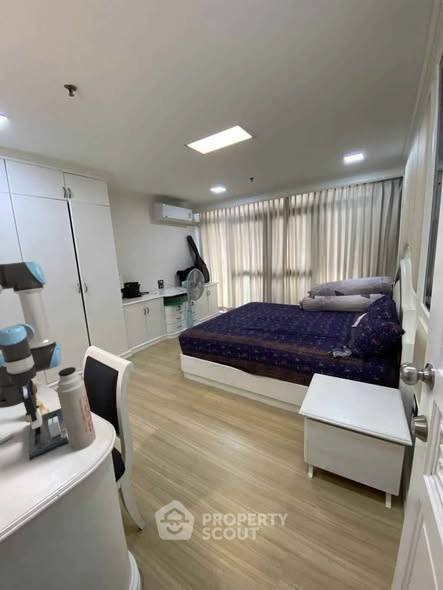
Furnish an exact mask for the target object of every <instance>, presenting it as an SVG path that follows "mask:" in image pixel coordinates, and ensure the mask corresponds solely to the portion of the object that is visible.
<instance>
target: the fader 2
mask: <svg viewBox="0 0 443 590" xmlns="http://www.w3.org/2000/svg"><path fill="white" fill-rule="evenodd" d="M48 426H49V430H50V434H51V438H52V437H57V436H58V435H59V434H61V432H60V426H59V422H58V418H57V416H56V417H54V418H51V419H49V420H48Z"/></svg>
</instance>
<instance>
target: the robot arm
mask: <svg viewBox="0 0 443 590" xmlns="http://www.w3.org/2000/svg"><path fill="white" fill-rule="evenodd" d="M44 273H45V272H44V271H43V268H42V267H41V265H40V264H39V263H38V262H36V261H24V262H22V261H21V262H13V263H3V264H2V263H0V295H1V294H2V292H3V290H10V289H13V293H15V294H16V295H18V297H19V301H20V306H21V309H22V310H21V311H22V314H23V319H24V323H18V324H16V325H11V326H7V327H3V328H1V329H0V351H1V354H0V407H2V408H7V407H13V406H15V405H19V404H22V403H23V405H24V406H23V407H24V409H25V416H28V415H29V419H30V422H29V424H30V423H31V426H32V429H35V428H37V427H40V426H41V421H40V417H39V413H38V410H37V409H36V408H39V405H37V406H36V404H37V402H36V400H35V395H34V388H33V383H34V381H33V380H32V379H34V378H35V377H36V376H37V373H39V372H43V371H47V370H51V369H55V368H58V367H59V366H60V365H61V362H62V351H61V344H60V343H58V342H57V341H56V340H55V339H53V338H52V337H51V332H50V328H49V323H48V319H47V318H48V317H47V314H46V310H45V305H44V301H43V296H42V291H43V290H44V286H45V285H47V280H46V277H45V274H44ZM56 342H57V343H56ZM34 385H35V387H36V394H38V387H37V385H36V384H35V383H34Z"/></svg>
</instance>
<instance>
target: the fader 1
mask: <svg viewBox="0 0 443 590" xmlns="http://www.w3.org/2000/svg"><path fill="white" fill-rule="evenodd" d="M37 410H38V413H39V417H40V421H41V425H42V417H41V413H40V409H39V408H38V409H37ZM37 428H38V427H37Z"/></svg>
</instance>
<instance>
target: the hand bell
mask: <svg viewBox="0 0 443 590" xmlns="http://www.w3.org/2000/svg"><path fill="white" fill-rule="evenodd" d="M34 384H35V383H34V382H33V388H34V395H35V400H36V402H37V404H36V406H37V405H39V409H40V413H41V416H42V415H44V414H47V413H49V412H51V410H50V409H49V408H47V407H45V406H44V404H43V402H42V401H40V400H39V401H38V398H37V393H36V387H37V386H36V387H35V385H36V384H35V385H34ZM36 409H38V408H36ZM25 422H28V423H30V419H29V415H26V417H25Z"/></svg>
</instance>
